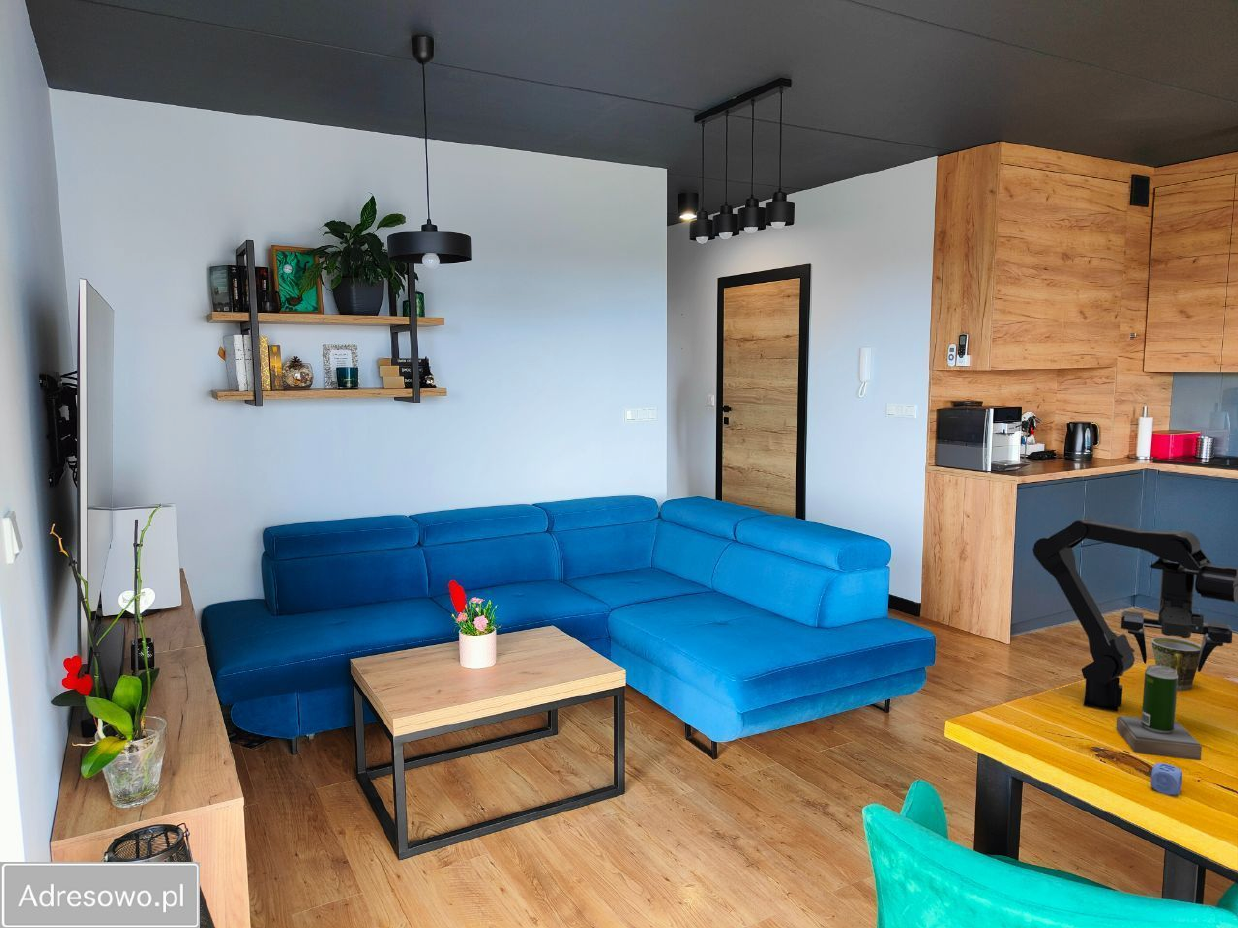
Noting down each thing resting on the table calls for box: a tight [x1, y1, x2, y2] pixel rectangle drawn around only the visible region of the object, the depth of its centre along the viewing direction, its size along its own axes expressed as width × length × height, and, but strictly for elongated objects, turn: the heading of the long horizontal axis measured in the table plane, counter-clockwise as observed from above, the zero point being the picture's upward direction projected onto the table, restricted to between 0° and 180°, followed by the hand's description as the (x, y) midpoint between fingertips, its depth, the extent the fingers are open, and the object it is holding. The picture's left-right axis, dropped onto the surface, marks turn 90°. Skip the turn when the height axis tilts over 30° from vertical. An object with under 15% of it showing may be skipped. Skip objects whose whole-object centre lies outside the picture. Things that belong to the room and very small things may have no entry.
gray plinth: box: [1115, 715, 1203, 761], centre depth 160 cm, size 11×11×3 cm
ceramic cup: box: [1151, 636, 1202, 691], centre depth 190 cm, size 13×10×10 cm
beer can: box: [1141, 664, 1178, 734], centre depth 159 cm, size 5×5×12 cm
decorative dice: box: [1150, 762, 1183, 796], centre depth 141 cm, size 4×4×4 cm
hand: (1171, 667), depth 168 cm, fingers open, 9 cm apart
